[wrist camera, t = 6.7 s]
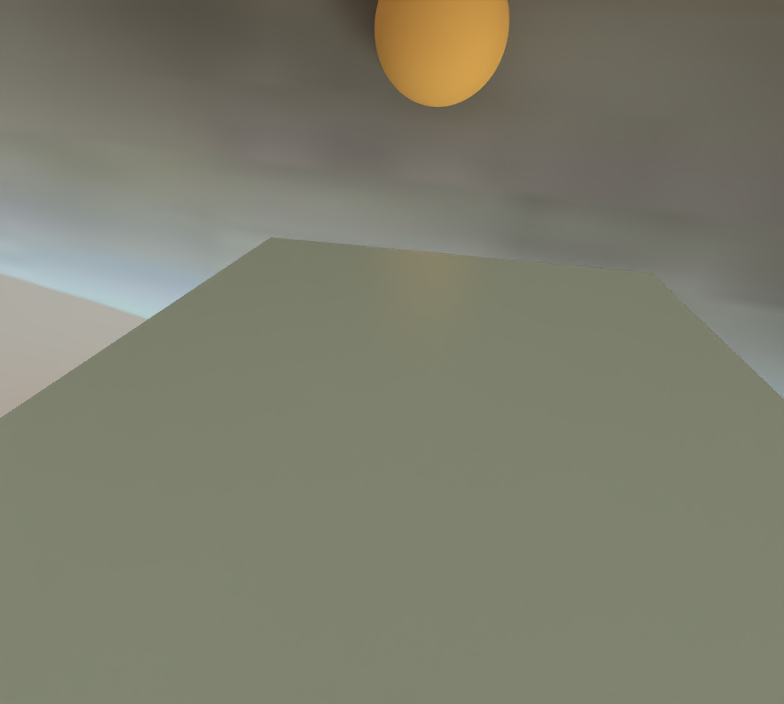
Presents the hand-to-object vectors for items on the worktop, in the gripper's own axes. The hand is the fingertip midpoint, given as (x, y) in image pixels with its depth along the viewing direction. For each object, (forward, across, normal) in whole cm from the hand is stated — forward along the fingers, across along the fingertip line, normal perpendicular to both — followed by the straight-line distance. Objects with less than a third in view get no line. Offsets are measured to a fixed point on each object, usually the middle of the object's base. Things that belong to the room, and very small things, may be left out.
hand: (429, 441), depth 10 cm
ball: (+13, +1, -9) cm, 16 cm away
